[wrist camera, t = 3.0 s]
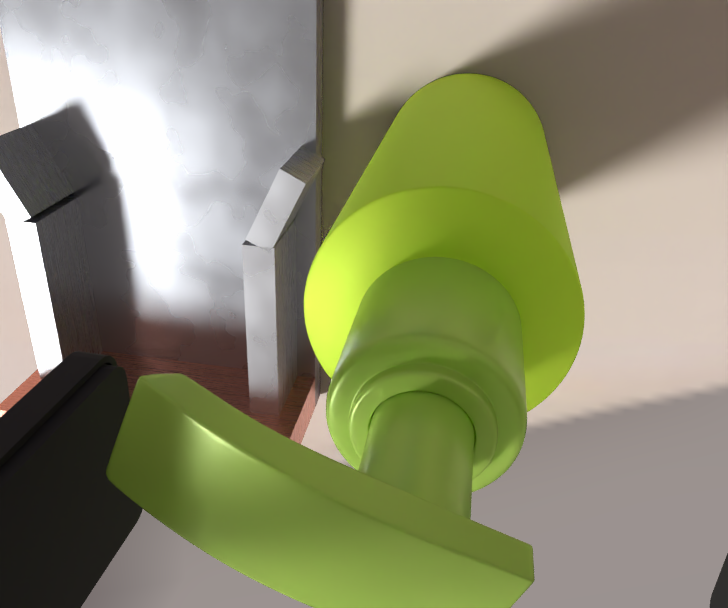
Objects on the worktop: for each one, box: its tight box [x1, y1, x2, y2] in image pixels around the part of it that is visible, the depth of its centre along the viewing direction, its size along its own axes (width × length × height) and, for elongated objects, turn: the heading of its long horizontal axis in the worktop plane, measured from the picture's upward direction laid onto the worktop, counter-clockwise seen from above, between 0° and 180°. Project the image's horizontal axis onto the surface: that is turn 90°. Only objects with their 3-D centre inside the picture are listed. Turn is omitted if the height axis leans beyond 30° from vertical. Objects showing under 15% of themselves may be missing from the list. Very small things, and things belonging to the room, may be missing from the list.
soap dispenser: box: [106, 73, 585, 608], centre depth 17 cm, size 6×7×20 cm
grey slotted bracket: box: [0, 0, 325, 444], centre depth 26 cm, size 18×13×6 cm
